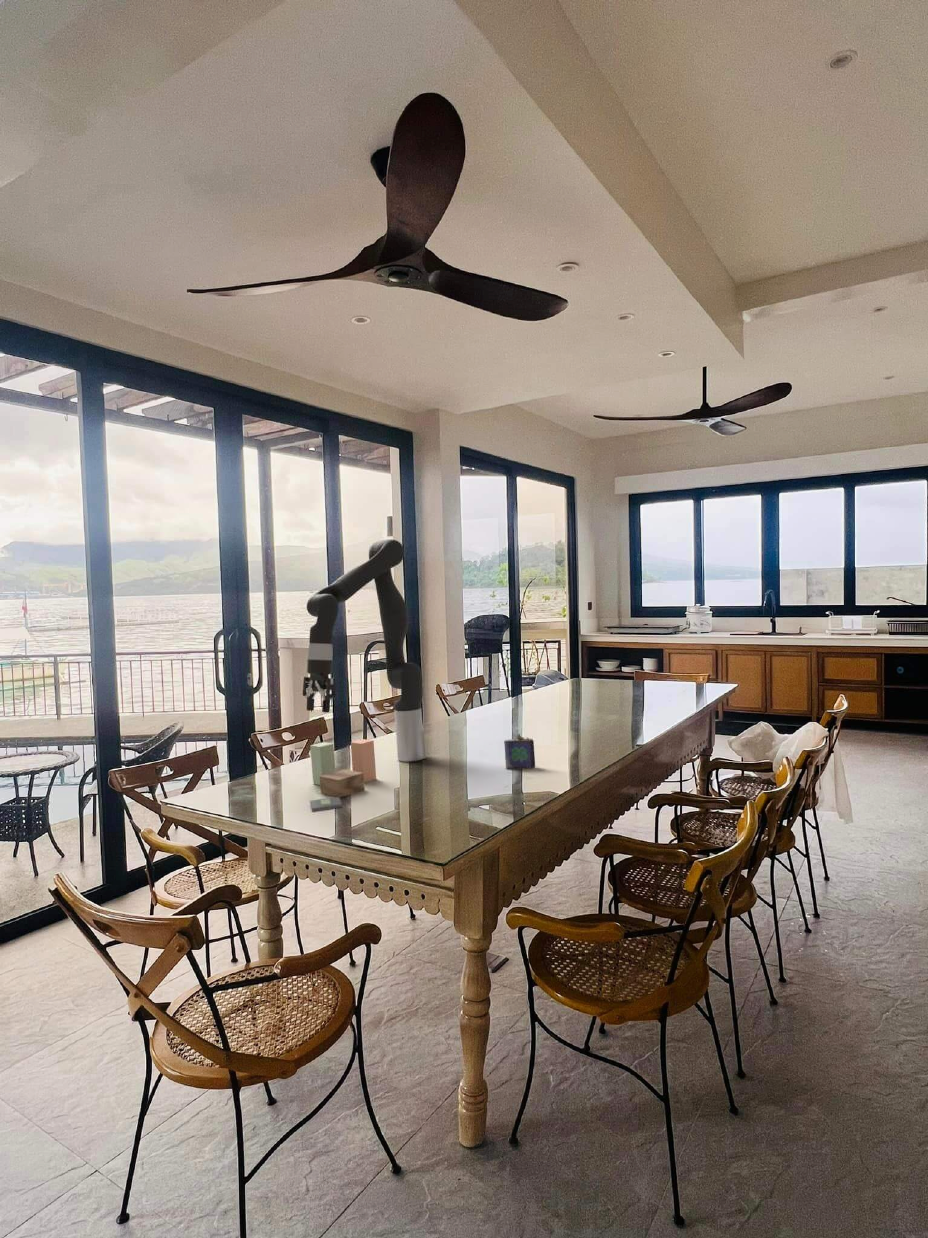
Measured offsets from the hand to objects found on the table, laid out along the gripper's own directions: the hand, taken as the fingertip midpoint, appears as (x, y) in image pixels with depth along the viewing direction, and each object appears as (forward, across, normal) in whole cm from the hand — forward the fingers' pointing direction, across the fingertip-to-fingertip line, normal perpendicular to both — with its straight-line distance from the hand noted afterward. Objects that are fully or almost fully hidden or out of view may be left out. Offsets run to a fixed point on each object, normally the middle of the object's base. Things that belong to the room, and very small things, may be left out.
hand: (317, 711), depth 219 cm
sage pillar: (+22, 0, -4) cm, 22 cm away
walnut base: (+22, -13, -1) cm, 26 cm away
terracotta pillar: (+21, -8, -13) cm, 26 cm away
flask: (+16, -41, -48) cm, 65 cm away
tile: (+24, -21, +10) cm, 33 cm away
